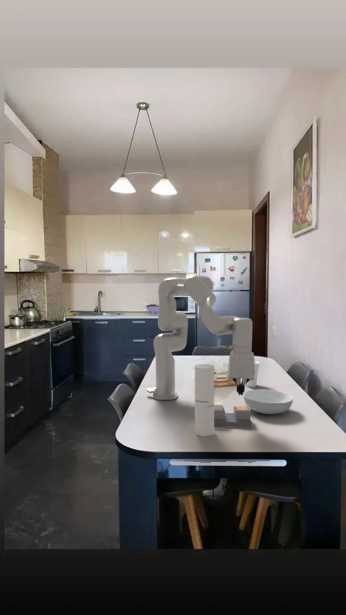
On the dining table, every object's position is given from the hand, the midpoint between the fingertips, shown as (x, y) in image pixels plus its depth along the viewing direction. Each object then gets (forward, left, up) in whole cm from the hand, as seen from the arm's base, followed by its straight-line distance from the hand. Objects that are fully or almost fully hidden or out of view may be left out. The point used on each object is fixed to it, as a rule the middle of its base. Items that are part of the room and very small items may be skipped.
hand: (240, 393), depth 146 cm
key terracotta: (+1, -1, -9) cm, 9 cm away
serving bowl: (+14, +13, -12) cm, 23 cm away
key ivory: (-9, -1, -7) cm, 12 cm away
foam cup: (+14, +55, -12) cm, 58 cm away
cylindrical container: (-15, -11, -12) cm, 22 cm away
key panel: (-4, -1, -11) cm, 12 cm away
